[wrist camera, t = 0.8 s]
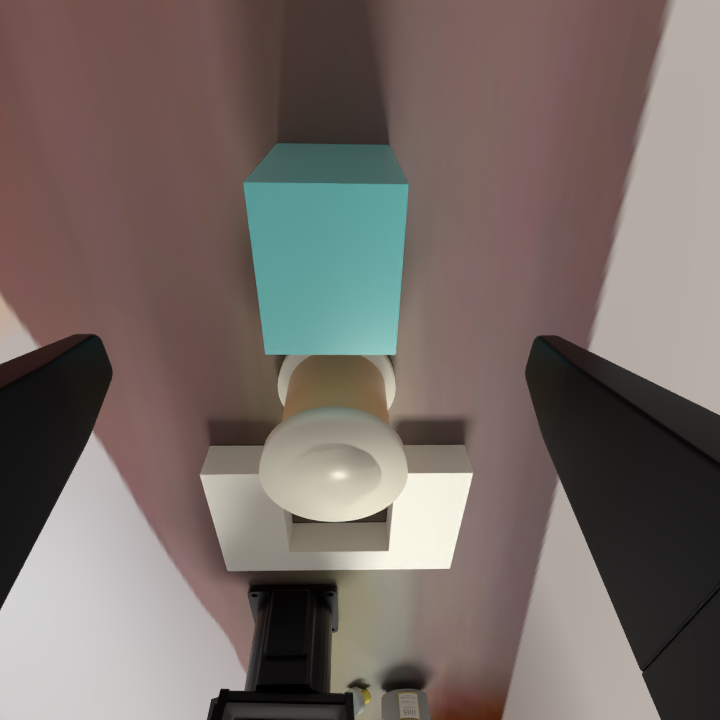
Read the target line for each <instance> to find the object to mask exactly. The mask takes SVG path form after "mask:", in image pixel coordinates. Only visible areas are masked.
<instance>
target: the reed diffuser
mask: <svg viewBox="0 0 720 720" xmlns="http://www.w3.org/2000/svg"><path fill="white" fill-rule="evenodd" d="M347 692H353V702H354V715H358V714H360V713H362V712H363V711H364V709H365V704H366V703H368V702H369V701H370V693H369V691H368V690H367V689H364V690H360V688H358V687H357V686H355V687H353V688H351V689H349V690H348V691H347ZM382 720H431V718H430V712H429V705H428V699H427V695H426V694H425V693H424V692H423V691H420V690H416V689H398V690H393V691H390V692H387V693H386V694H384V695H383V696H382Z"/></svg>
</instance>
